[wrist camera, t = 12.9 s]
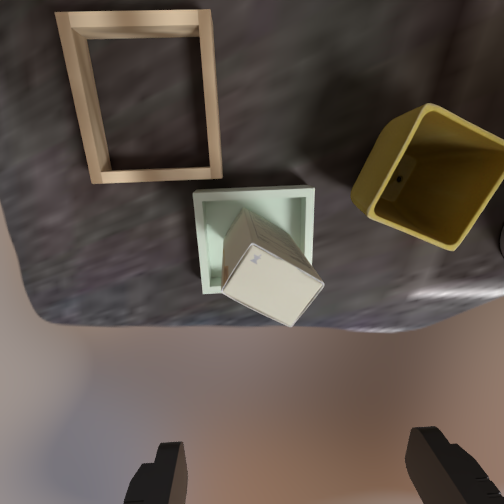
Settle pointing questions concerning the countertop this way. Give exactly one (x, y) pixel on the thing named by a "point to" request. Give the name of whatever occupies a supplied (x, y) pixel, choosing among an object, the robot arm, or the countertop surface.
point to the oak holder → (85, 94)
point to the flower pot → (430, 175)
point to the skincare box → (267, 269)
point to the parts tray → (260, 202)
